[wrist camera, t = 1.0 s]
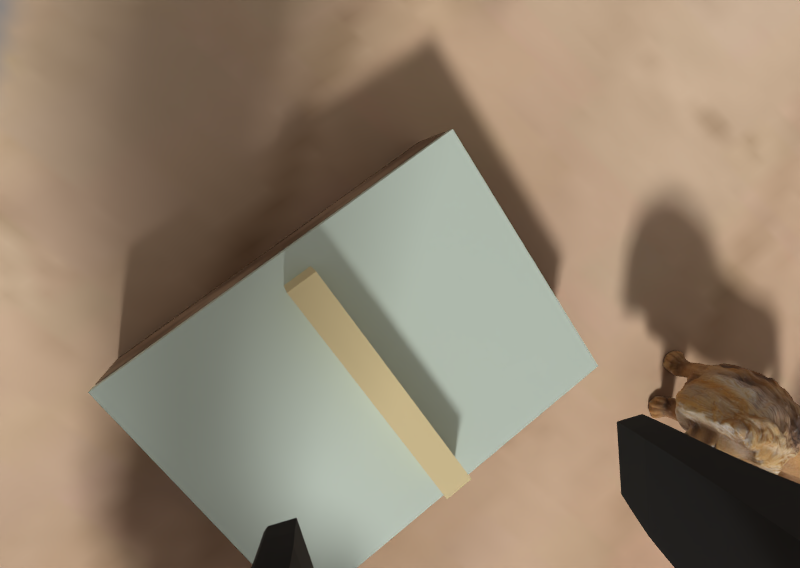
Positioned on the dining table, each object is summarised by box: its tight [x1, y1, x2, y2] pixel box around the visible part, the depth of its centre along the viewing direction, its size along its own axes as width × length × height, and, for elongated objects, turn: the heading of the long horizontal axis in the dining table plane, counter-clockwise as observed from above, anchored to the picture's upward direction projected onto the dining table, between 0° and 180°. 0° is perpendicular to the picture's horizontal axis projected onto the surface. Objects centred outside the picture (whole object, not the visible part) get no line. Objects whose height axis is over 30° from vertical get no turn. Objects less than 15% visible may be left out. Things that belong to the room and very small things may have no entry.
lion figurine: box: [649, 351, 800, 484], centre depth 27 cm, size 15×5×9 cm, turn 66°
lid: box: [88, 129, 598, 568], centre depth 21 cm, size 16×12×2 cm
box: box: [96, 132, 445, 385], centre depth 24 cm, size 16×12×3 cm
